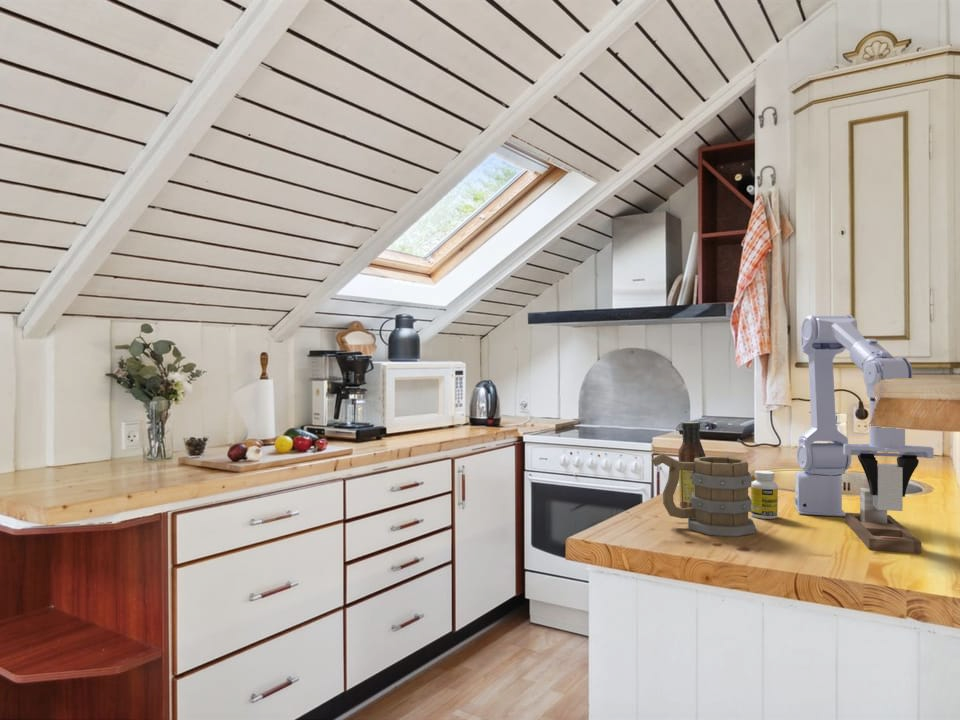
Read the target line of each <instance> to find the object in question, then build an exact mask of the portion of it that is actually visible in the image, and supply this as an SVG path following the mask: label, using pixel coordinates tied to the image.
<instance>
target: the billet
mask: <svg viewBox="0 0 960 720" xmlns="http://www.w3.org/2000/svg"><path fill="white" fill-rule="evenodd" d="M876 481H877V495H873V506H874V507H875V508H876V509H878V510H887V511H896V512H903V504H904V503H903V498H904V497H903V467H901V466H899V465H897V463H894V464H893V463H878V464H877V475H876Z"/></svg>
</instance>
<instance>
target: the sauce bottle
mask: <svg viewBox="0 0 960 720" xmlns="http://www.w3.org/2000/svg"><path fill="white" fill-rule="evenodd" d="M681 428H682V437H683V438H682V443H681V445H680V447H679V449H678V461H680V462H694V459H695V458H699V457H707V456H706V453H705V451H704V447H703V445H702V442H701V438H700V437H701V436H700V434H701V433H700V430H701V423H700V422H699V421H683V422H681ZM691 475H692V471H687V470H680V472H679V481H678V499H679V500H678V501H679V508H691V507H692V502H691V501H690V499H691V498H692V493H693V492H694V485H693V484H692V479H691V478H690V476H691Z"/></svg>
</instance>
